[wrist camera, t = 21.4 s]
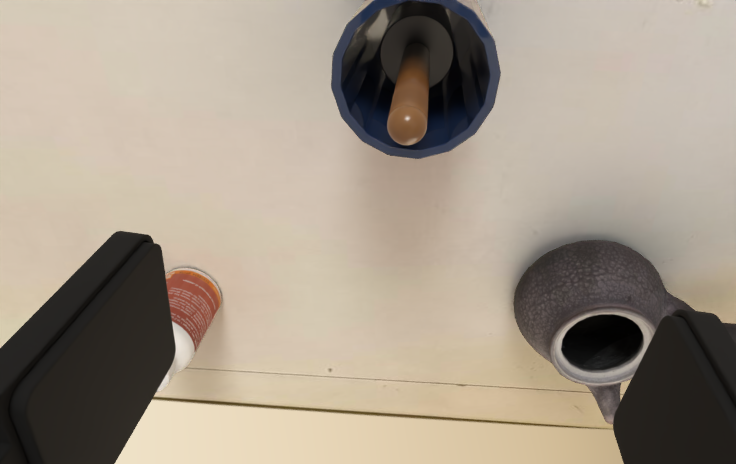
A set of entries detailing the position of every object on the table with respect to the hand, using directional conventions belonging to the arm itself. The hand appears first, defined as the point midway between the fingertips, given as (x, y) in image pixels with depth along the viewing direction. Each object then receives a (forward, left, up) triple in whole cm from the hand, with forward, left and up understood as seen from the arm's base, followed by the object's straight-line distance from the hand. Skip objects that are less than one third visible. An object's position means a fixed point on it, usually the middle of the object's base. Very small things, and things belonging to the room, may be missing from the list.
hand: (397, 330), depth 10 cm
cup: (0, 0, -33) cm, 33 cm away
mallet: (+1, 0, -32) cm, 32 cm away
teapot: (+21, +21, -33) cm, 44 cm away
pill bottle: (+27, -19, -33) cm, 47 cm away
